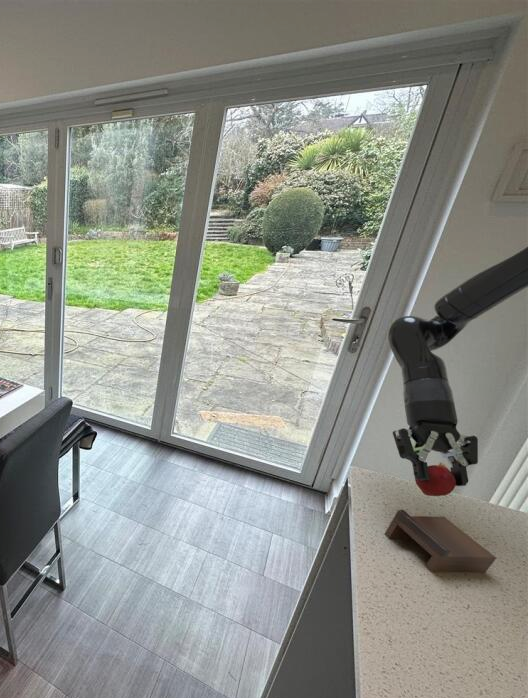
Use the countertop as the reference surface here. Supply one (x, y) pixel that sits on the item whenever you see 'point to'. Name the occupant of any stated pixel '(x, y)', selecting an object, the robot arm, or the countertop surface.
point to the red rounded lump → (438, 481)
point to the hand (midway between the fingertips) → (441, 483)
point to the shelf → (442, 543)
